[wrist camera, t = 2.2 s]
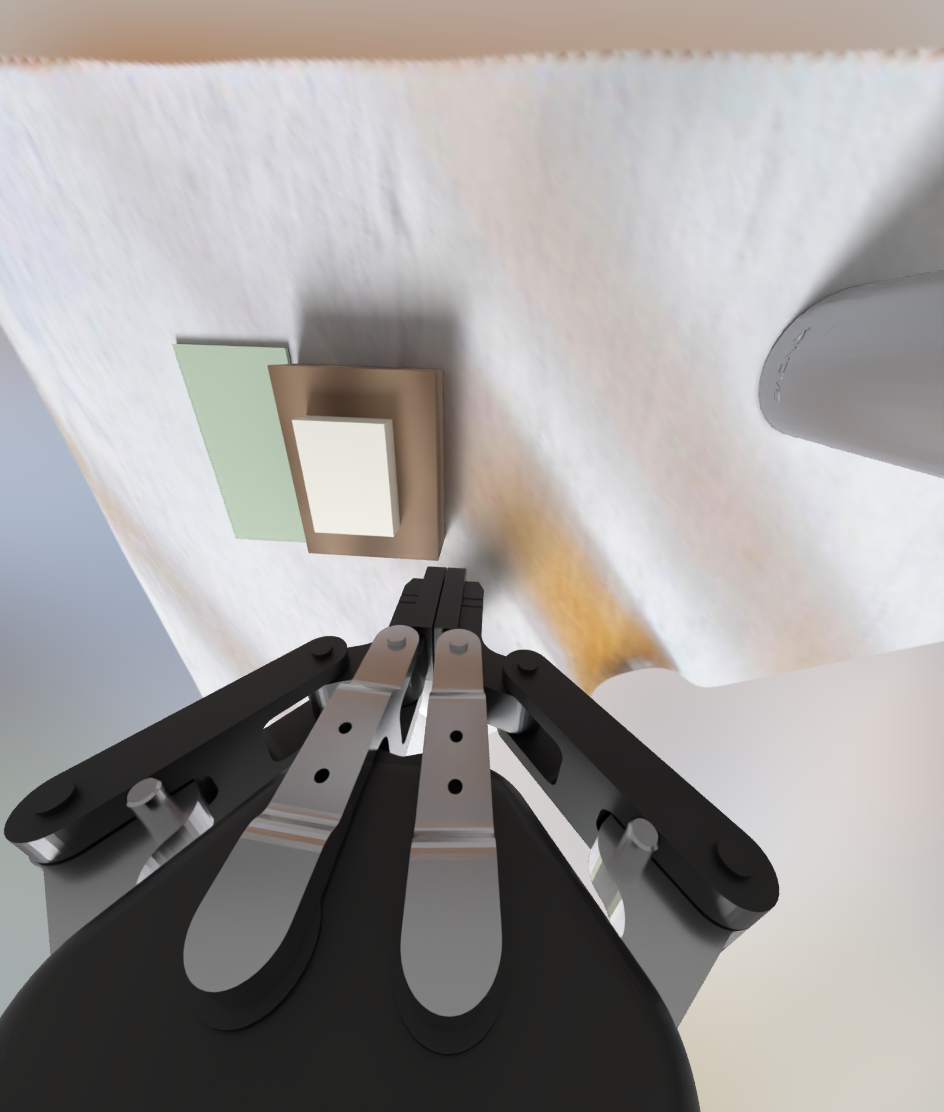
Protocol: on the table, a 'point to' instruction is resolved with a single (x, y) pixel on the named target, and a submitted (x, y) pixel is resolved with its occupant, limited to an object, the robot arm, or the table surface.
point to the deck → (416, 444)
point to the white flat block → (349, 474)
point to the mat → (244, 436)
